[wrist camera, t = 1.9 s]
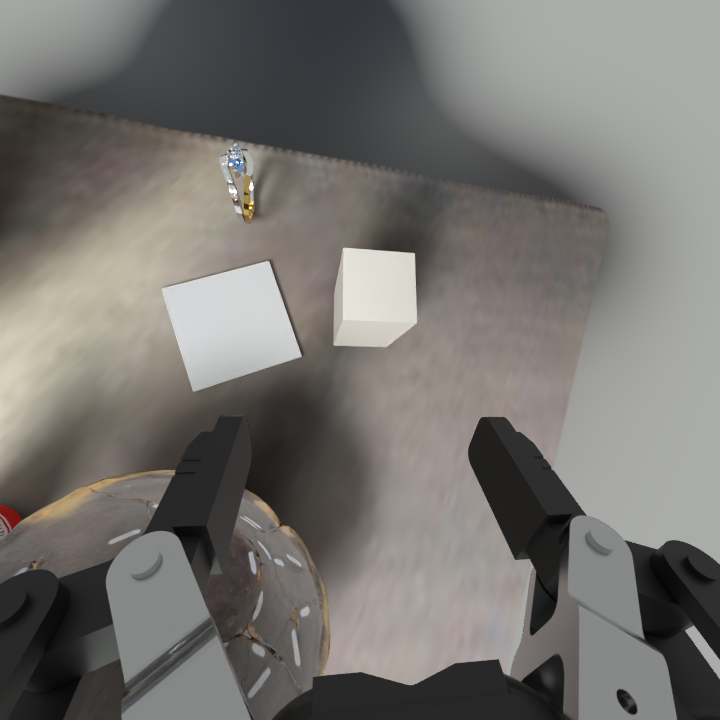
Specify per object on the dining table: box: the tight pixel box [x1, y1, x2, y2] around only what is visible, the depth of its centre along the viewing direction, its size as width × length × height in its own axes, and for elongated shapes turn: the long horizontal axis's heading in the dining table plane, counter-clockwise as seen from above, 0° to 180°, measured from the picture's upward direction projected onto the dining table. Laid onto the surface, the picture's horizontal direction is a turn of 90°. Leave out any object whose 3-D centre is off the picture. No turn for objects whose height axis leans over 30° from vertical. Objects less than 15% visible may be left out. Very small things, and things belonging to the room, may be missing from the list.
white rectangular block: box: [334, 248, 417, 347], centre depth 32 cm, size 6×6×11 cm
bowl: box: [0, 470, 330, 720], centre depth 26 cm, size 25×25×10 cm
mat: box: [161, 261, 302, 392], centre depth 35 cm, size 12×12×1 cm
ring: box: [219, 143, 255, 224], centre depth 33 cm, size 7×3×8 cm, turn 178°
